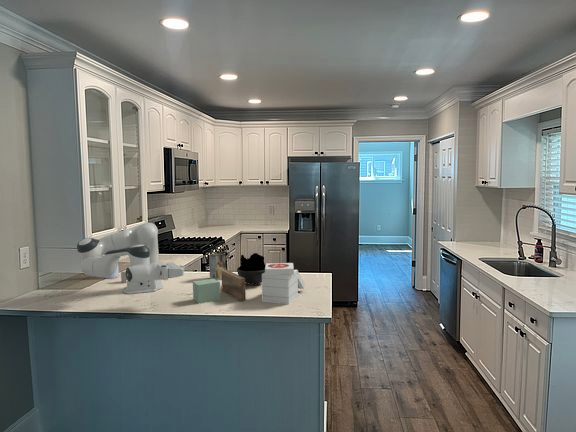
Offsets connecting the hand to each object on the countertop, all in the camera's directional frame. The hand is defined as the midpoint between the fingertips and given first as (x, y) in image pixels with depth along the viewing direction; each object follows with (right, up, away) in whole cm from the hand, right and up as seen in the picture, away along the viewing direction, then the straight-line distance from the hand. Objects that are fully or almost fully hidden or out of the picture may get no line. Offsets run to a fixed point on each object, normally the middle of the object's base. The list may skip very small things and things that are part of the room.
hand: (187, 267), depth 227 cm
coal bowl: (+32, -15, +39) cm, 53 cm away
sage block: (+9, -18, +8) cm, 22 cm away
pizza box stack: (+50, -17, +12) cm, 55 cm away
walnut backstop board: (+22, -17, +15) cm, 32 cm away
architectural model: (-51, -16, +50) cm, 73 cm away
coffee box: (+7, -14, +55) cm, 57 cm away
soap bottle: (-65, -14, +64) cm, 93 cm away
